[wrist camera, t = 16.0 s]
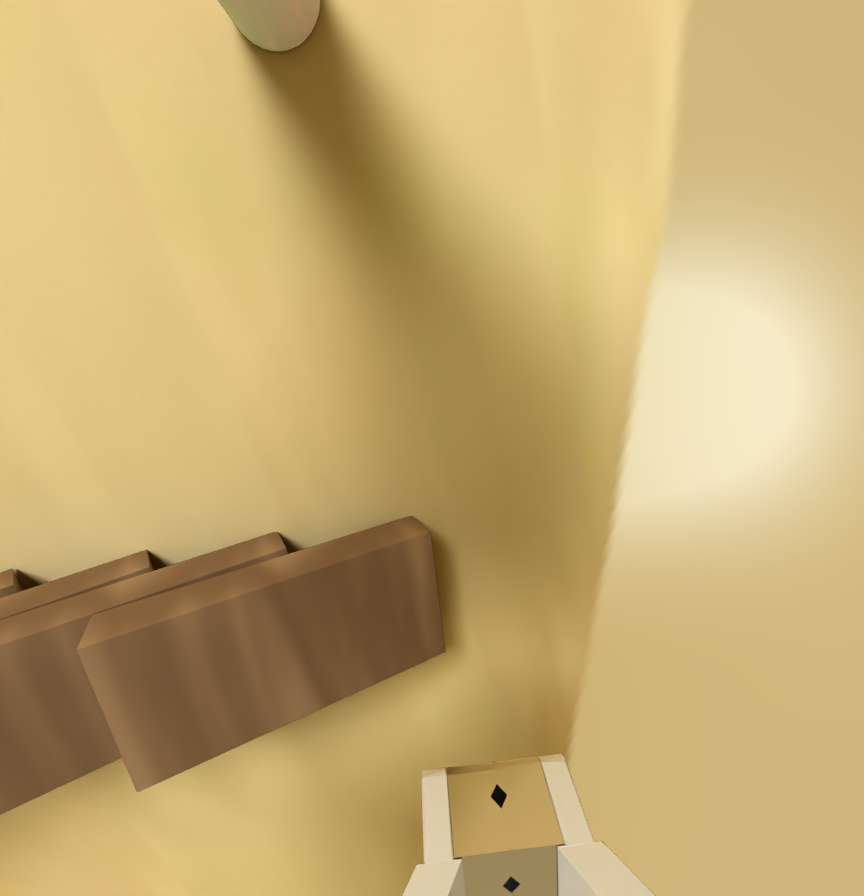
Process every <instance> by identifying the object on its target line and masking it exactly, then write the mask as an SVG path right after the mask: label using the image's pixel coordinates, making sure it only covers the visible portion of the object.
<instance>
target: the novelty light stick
mask: <svg viewBox="0 0 864 896" xmlns="http://www.w3.org/2000/svg"><path fill="white" fill-rule="evenodd" d="M218 1H219V2H220V4H221V5H222V7H223V8H224V10H225V11H226V12H227V14H228V15H229V17H230V18H231V19H232V21H233V22H234V24H235V25H236V27H237V28H238V29H239V30H240V32H241V33H242V34H243V35H244V36H245V37H246V38H247V39H248V40H250V41H251V42H252V43H253V44H255V45H257V46H259V47H261V48H263V49H266V50H270V51H286V50H290V49H292V48H294V47H297V46H298V45H300V44H301V43H302V42H303V41H305V40H306V39H307V37H308V36H309V35H310V34H311V32H312V30H313V28H314V26H315V24H316V22H317V18H318V15H319V9H320V0H218Z"/></svg>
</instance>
